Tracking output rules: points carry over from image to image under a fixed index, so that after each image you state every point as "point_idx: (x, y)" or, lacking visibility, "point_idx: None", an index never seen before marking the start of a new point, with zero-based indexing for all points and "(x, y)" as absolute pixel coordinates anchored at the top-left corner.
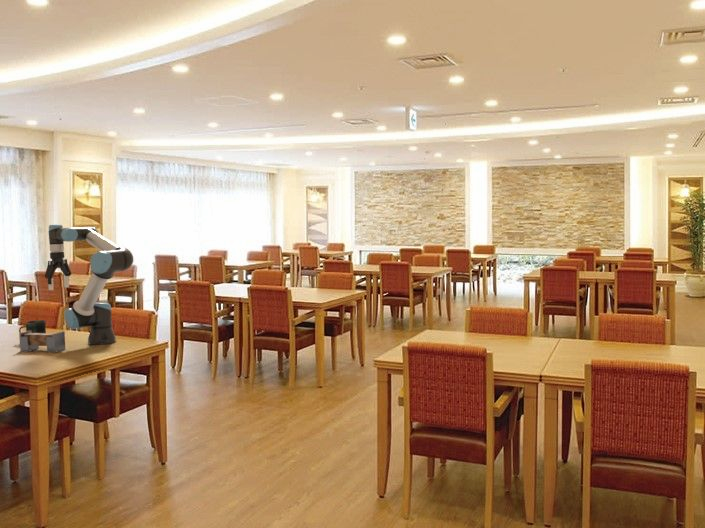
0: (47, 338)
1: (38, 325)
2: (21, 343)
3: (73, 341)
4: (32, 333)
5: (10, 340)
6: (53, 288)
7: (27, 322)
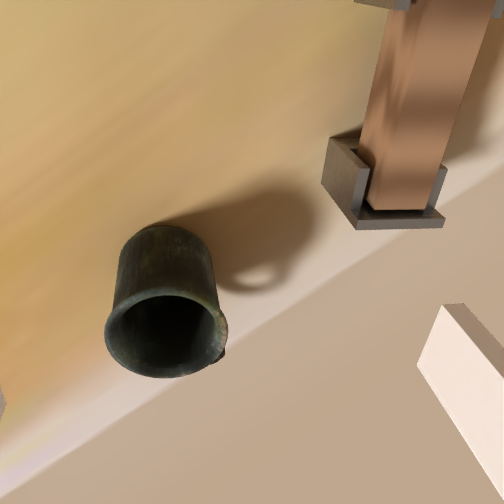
0: (498, 8)
1: (199, 288)
2: None
3: (104, 54)
4: (399, 180)
5: (152, 383)
6: (463, 323)
7: (181, 369)
